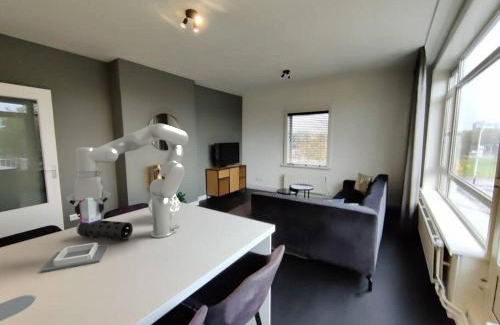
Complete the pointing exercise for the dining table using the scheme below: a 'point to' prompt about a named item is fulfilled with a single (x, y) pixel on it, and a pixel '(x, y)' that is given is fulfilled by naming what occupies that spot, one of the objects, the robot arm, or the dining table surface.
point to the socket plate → (75, 257)
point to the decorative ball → (174, 200)
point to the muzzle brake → (106, 230)
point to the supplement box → (89, 211)
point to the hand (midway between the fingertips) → (90, 212)
